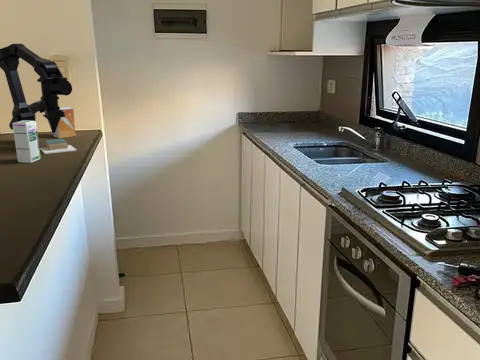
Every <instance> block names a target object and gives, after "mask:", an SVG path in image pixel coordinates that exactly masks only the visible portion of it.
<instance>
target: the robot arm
mask: <svg viewBox="0 0 480 360" xmlns="http://www.w3.org/2000/svg"><path fill="white" fill-rule="evenodd" d="M20 60H23V61H25V63H27V64H28V65H30V66H31V67H32V68H33V71H34V72H35V74H37V75H38V76H39V77H38V79H37V80H36V81H37V82H36V83H40V88H41V89H40V90H41V97H40V100H38V101H35V102H32V103H30V104H28V103H27V100H26V97H25V93H24V90H23V89H24V88H23V86H22V82H21V79H20V75H19V71H18V68H19V64H20ZM0 69H1V70H2V71H3V72H4V75H5V78H6V79H5V80H6V82H7V85H8V89H9V92H10V96H11V99H12V103H13V108H12V112H11V115H12V118H11V120H10V121H9V123H8V126H9V129H10V130H13V125H12V123H16V122H20V121H25V120H32V121H36V118H37V117H36V114H37V112H38V113H39V114H42V116H43V117H44V118H45V119H46V120H47V122H48V125H49V129H50V130H51V133H55V132H56V129H57V126H58V123H59V121H60V118H61V117H65V113H64V111H62V110H61V109H60V108H61V107H60V106H59V100H60V97H59V96H69V95H71V94H72V91H73V86H72V83H71V82H70V81H68V78H67V77H64V75H63V73H62V72H61V70H60V69H59V67H58V65H57V62H55V61H54V60H53V61H52V60H50V59H47V58H43V57H41V56H39V55H38V54H37V53H35V52H34V51H32V50H31V49H30V48H28V47H26V45H25V44H24V43H11V44H9V45H8V46H5V47H1V48H0ZM58 95H59V96H58ZM43 113H44V114H43Z"/></svg>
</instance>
